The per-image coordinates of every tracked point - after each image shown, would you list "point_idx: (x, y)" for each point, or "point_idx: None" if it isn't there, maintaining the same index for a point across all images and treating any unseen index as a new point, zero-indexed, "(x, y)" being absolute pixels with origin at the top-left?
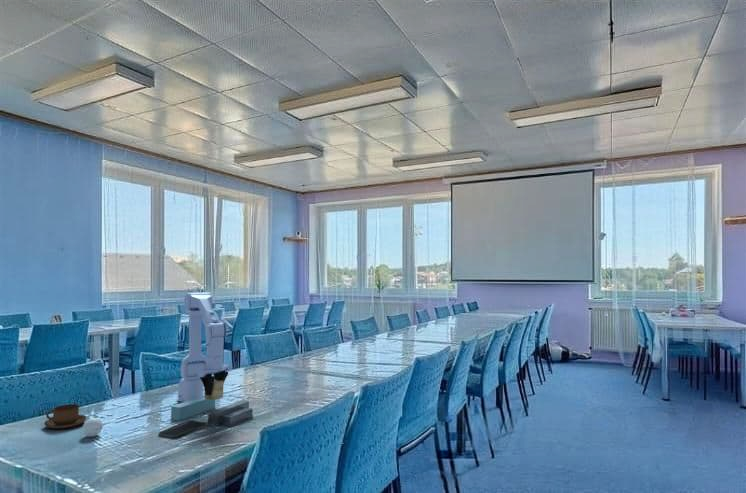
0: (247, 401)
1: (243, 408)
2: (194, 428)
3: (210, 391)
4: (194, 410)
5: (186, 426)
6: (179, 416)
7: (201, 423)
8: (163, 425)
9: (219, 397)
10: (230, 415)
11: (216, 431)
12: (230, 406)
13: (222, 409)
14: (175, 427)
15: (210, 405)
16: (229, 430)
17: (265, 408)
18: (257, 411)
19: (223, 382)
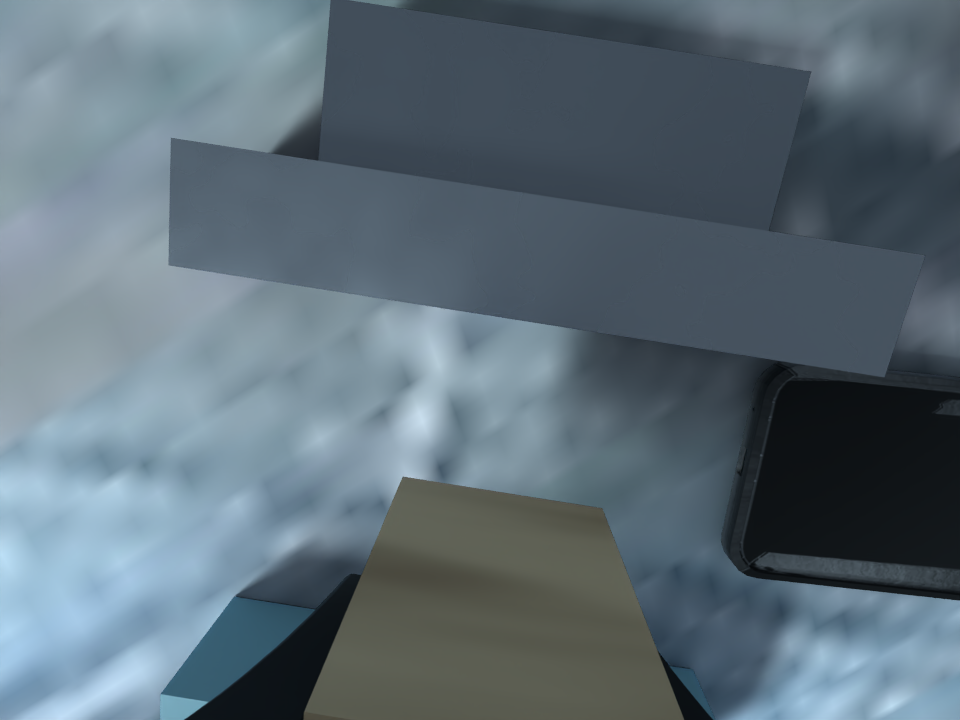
0: (202, 148)
1: (375, 133)
2: (951, 397)
3: (668, 669)
4: None
5: (901, 503)
6: (705, 702)
7: (783, 423)
8: (845, 711)
9: (484, 497)
10: (723, 123)
11: (941, 154)
12: (527, 251)
13: (701, 275)
14: (946, 577)
15: (287, 635)
16: (886, 27)
17: (8, 72)
18: (152, 104)
19: (256, 688)
